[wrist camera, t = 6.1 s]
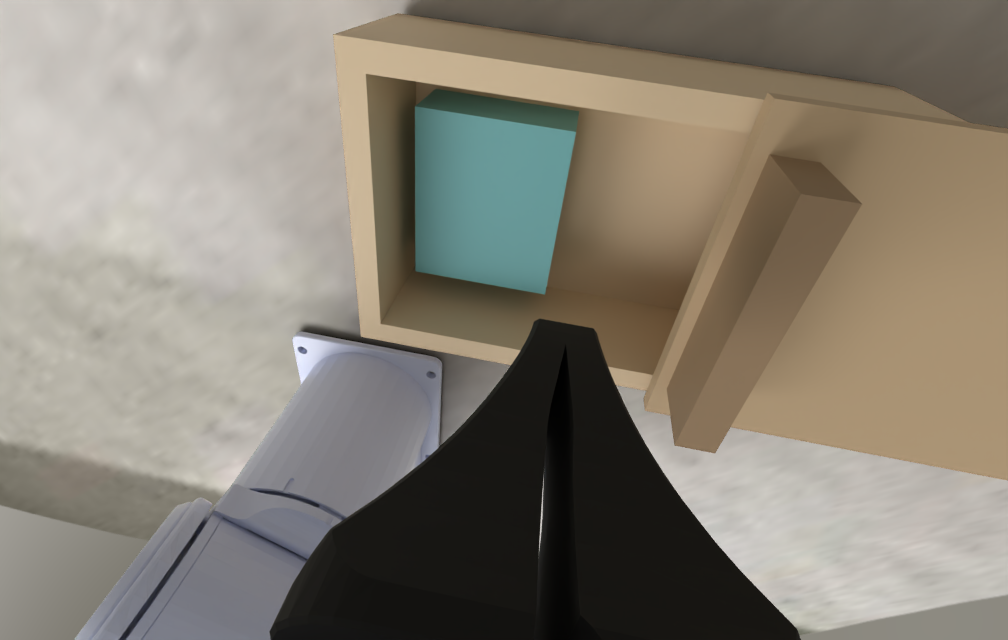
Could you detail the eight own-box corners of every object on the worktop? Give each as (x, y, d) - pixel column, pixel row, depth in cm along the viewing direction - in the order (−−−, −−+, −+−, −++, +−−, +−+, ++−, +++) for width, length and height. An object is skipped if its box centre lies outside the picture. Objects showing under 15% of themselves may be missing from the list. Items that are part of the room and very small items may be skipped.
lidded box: (403, 268, 23) (361, 336, 19) (397, 13, 16) (333, 34, 13) (759, 332, 22) (794, 418, 18) (894, 86, 16) (993, 134, 12)
